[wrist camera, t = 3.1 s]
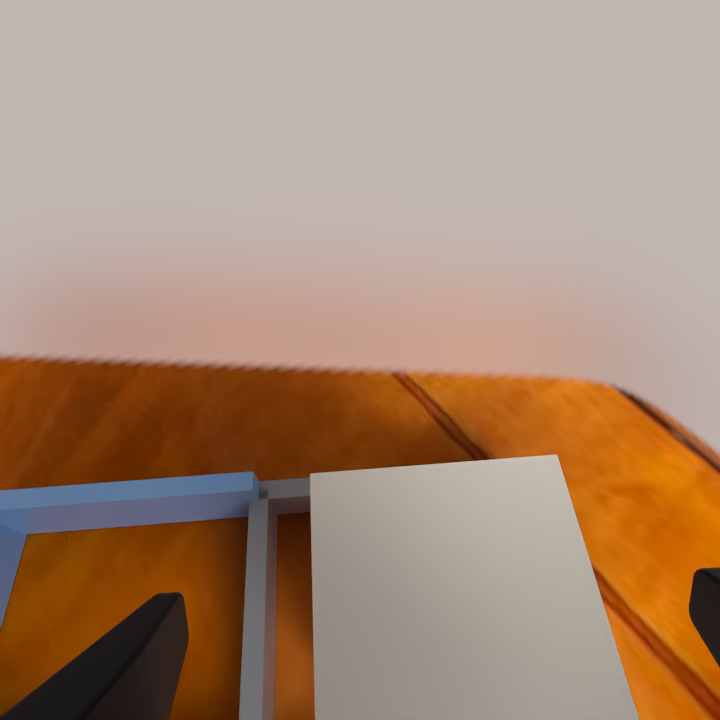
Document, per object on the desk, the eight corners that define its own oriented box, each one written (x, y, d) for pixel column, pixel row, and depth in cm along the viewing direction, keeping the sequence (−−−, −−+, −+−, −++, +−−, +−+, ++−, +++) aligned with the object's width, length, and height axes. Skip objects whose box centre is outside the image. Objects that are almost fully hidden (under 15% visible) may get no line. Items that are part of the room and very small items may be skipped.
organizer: (513, 479, 18) (538, 449, 15) (597, 814, 13) (655, 854, 10) (18, 518, 17) (-44, 494, 14) (-92, 884, 12) (-213, 944, 10)
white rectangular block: (480, 704, 14) (657, 778, 6) (346, 717, 14) (316, 811, 5) (456, 560, 16) (557, 454, 8) (339, 570, 16) (309, 473, 8)
